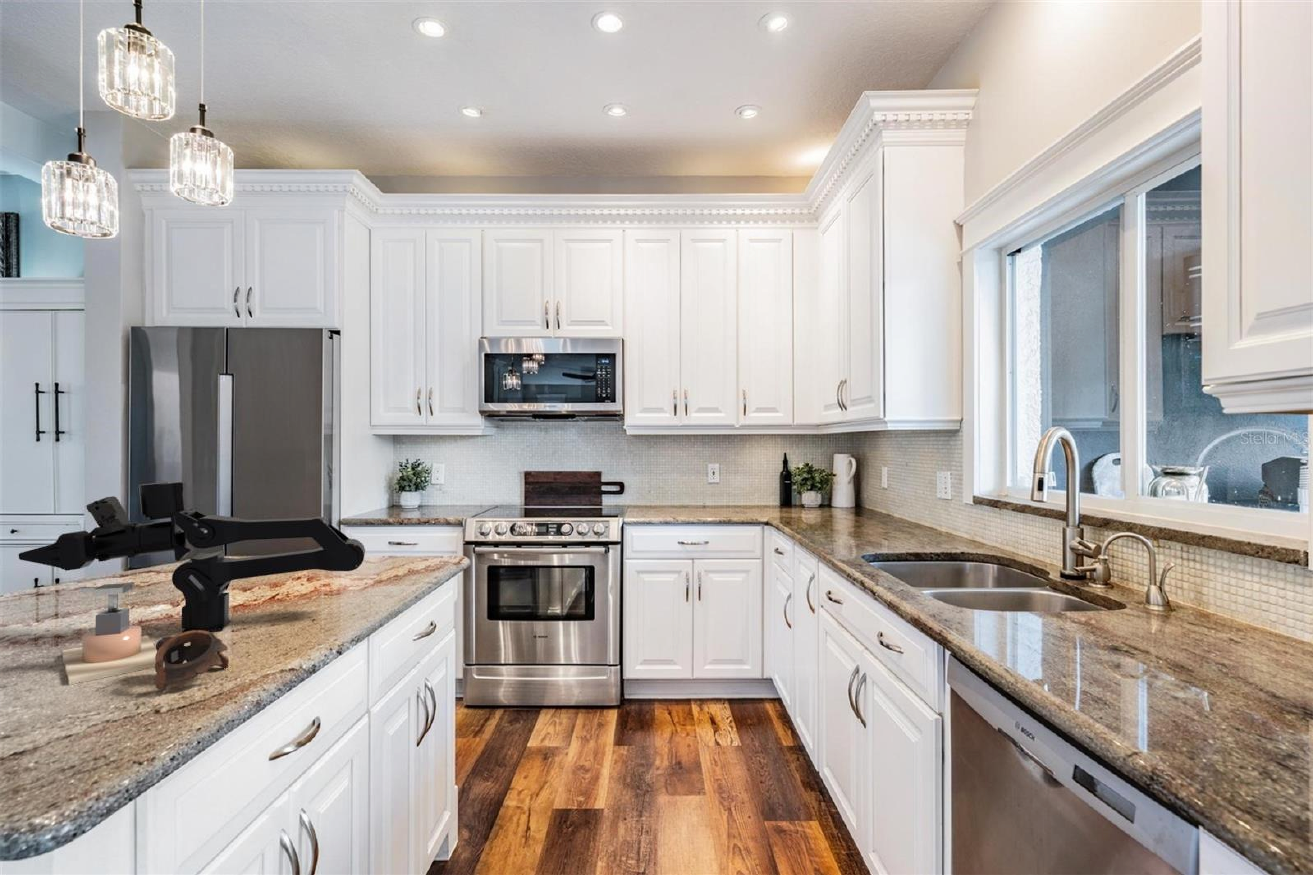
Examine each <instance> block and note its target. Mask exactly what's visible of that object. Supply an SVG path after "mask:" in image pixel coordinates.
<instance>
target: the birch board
mask: <svg viewBox="0 0 1313 875" xmlns="http://www.w3.org/2000/svg"><path fill="white" fill-rule="evenodd" d="M156 653H157V650H156V645H154V643H153V642H152V640H151V639H150V637H149V635H144V636H142V635H141V652H140V653H138V654H136V655H134V656H131V657H128V658H124V659H120V660H116V661H110V662H103V663H85V662H82V646H80V647H74V648H69V649H64V650H61V658H62V660H63V661H62V662H63V666H64V669H65V674H66V678H67V682H68V685H69V686H70V685H75V684H80V683H84V682H90V681H94V680H99V679H104V678H109V677H114V676H119V675H124V674H127V673H128V674H129V673H133V672H137V671H143V669H144V670H147V668H148V669H153V668H155V663H156V660H155V657H156ZM163 666H165V662H164V663H163ZM123 673H124V674H123ZM79 682H80V683H79Z"/></svg>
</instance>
